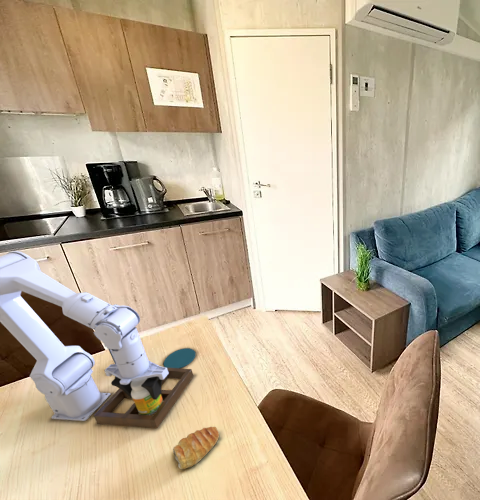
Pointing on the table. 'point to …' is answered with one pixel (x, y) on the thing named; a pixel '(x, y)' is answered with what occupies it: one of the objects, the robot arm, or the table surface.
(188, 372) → the rack
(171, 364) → the coaster
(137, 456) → the table surface
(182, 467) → the pastry
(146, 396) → the supplement bottle
